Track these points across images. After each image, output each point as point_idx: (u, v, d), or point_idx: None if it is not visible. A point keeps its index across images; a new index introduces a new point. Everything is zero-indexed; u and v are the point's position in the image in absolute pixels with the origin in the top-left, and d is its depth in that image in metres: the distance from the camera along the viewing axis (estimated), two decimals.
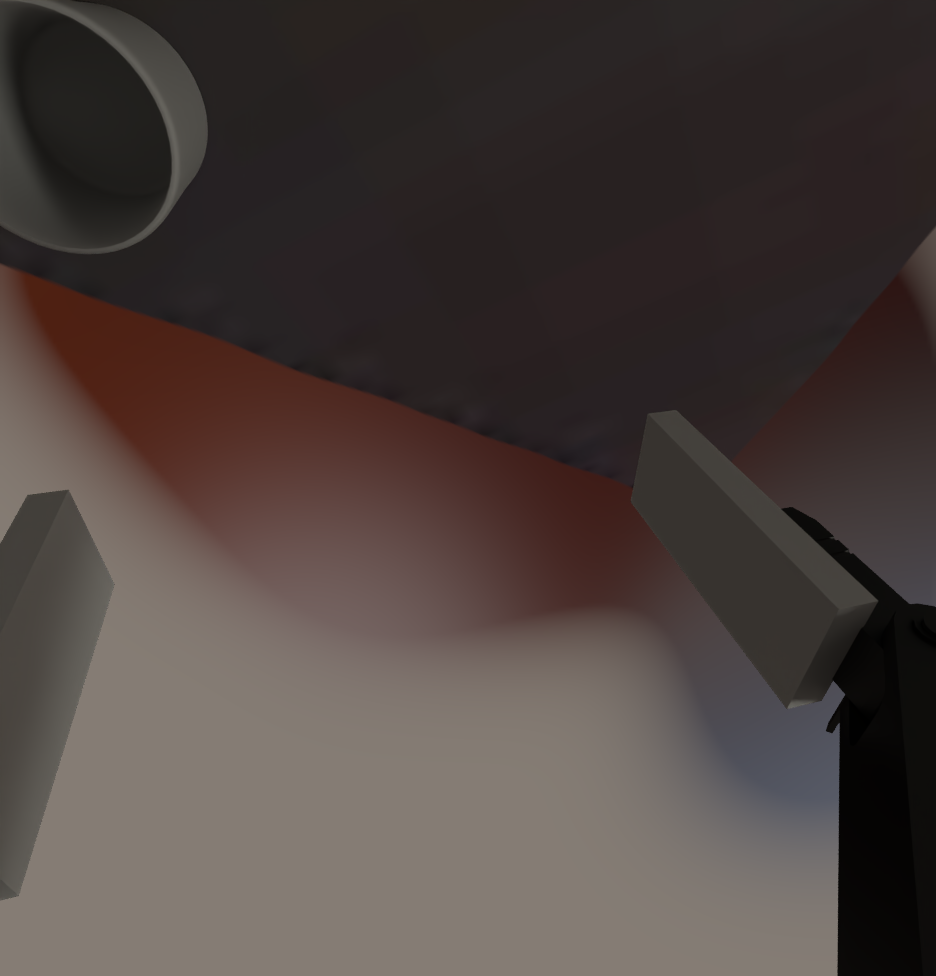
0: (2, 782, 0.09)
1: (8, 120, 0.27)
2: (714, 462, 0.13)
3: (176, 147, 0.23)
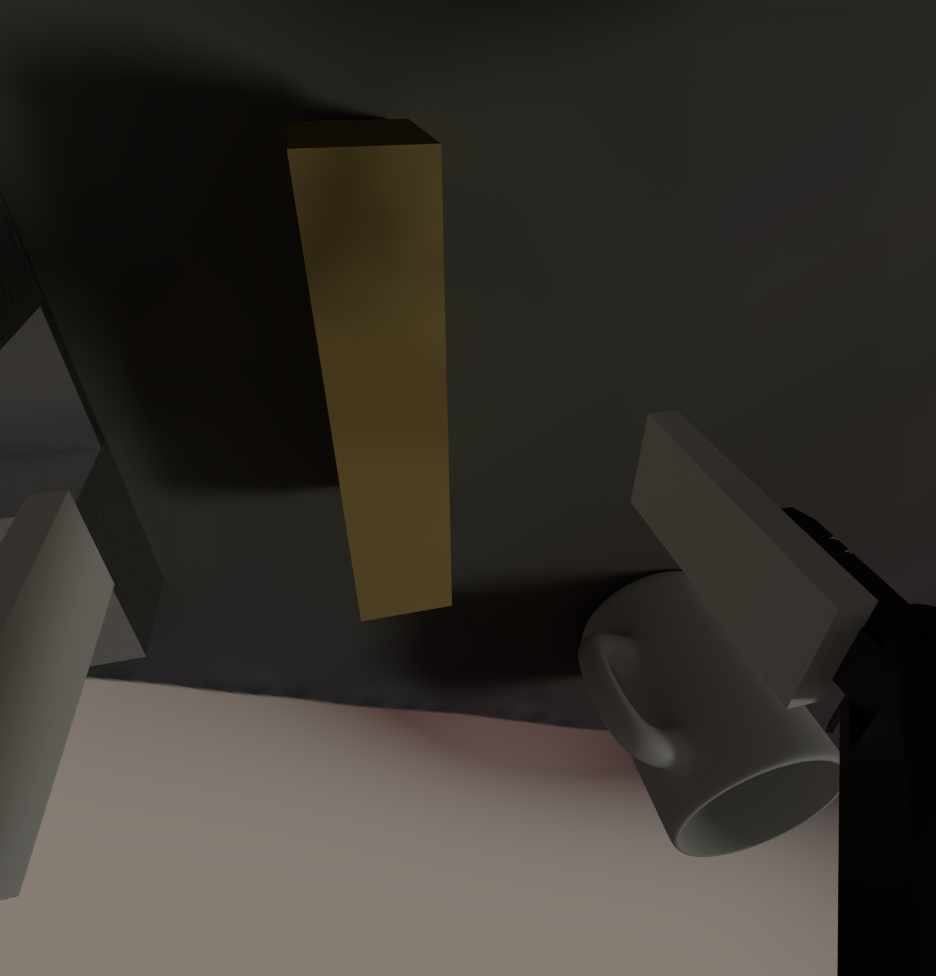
0: (2, 782, 0.09)
1: None
2: (714, 462, 0.13)
3: (837, 793, 0.28)
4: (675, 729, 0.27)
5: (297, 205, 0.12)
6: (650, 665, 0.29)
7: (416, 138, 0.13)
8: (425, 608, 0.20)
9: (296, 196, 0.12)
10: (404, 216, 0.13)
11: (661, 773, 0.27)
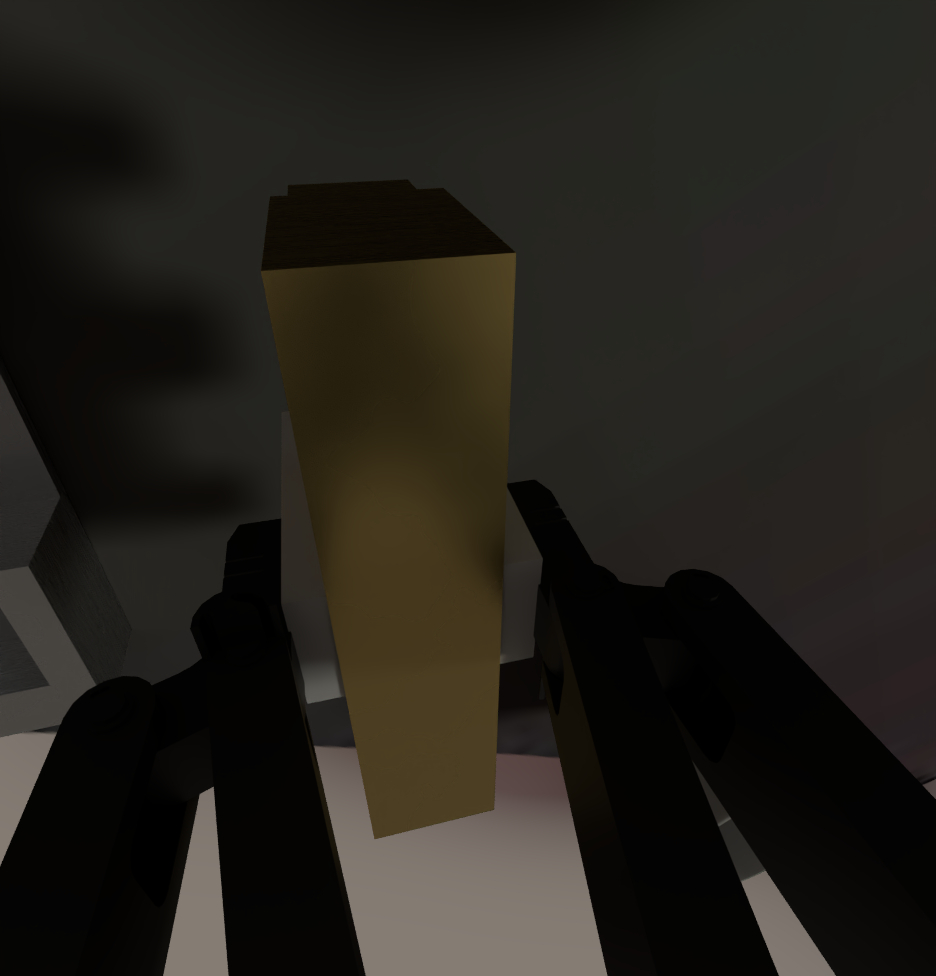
0: None
1: None
2: None
3: None
4: None
5: (280, 353, 0.07)
6: None
7: (470, 237, 0.08)
8: (459, 816, 0.15)
9: (278, 340, 0.07)
10: (452, 359, 0.08)
11: None
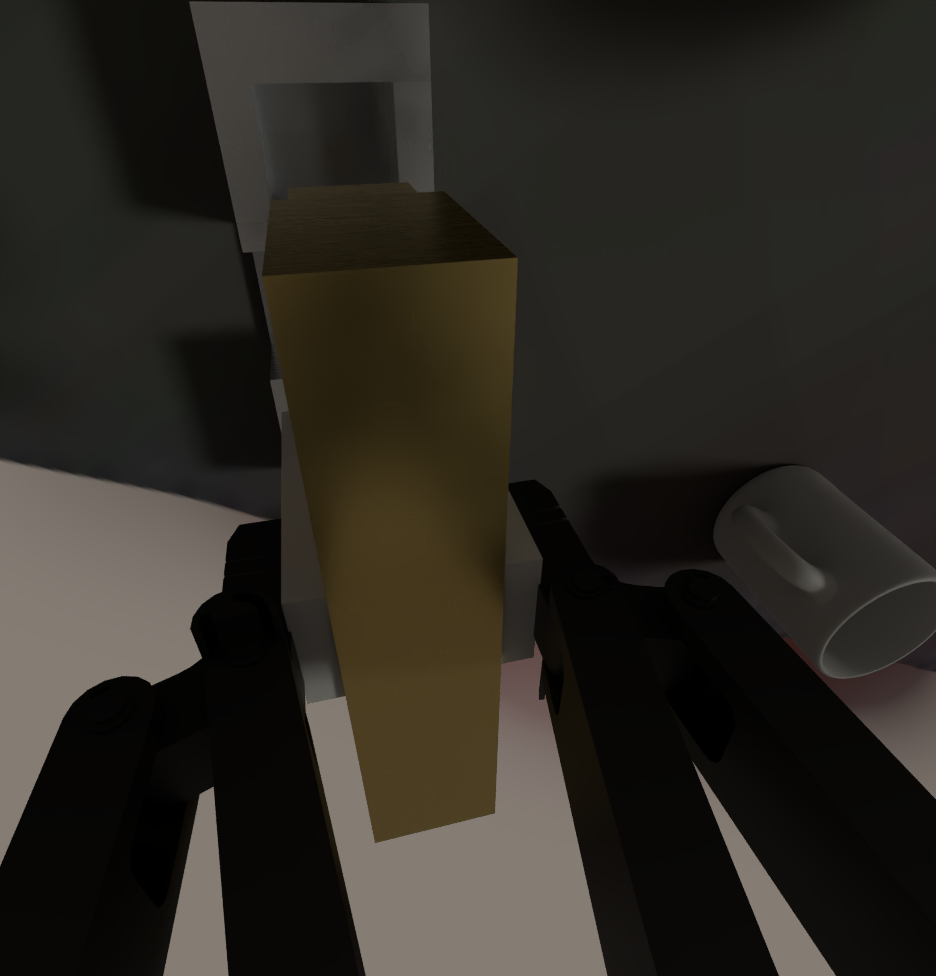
0: None
1: None
2: None
3: None
4: (819, 568, 0.34)
5: (281, 359, 0.07)
6: (788, 528, 0.37)
7: (472, 242, 0.08)
8: (459, 820, 0.15)
9: (279, 346, 0.07)
10: (455, 365, 0.08)
11: (808, 603, 0.35)
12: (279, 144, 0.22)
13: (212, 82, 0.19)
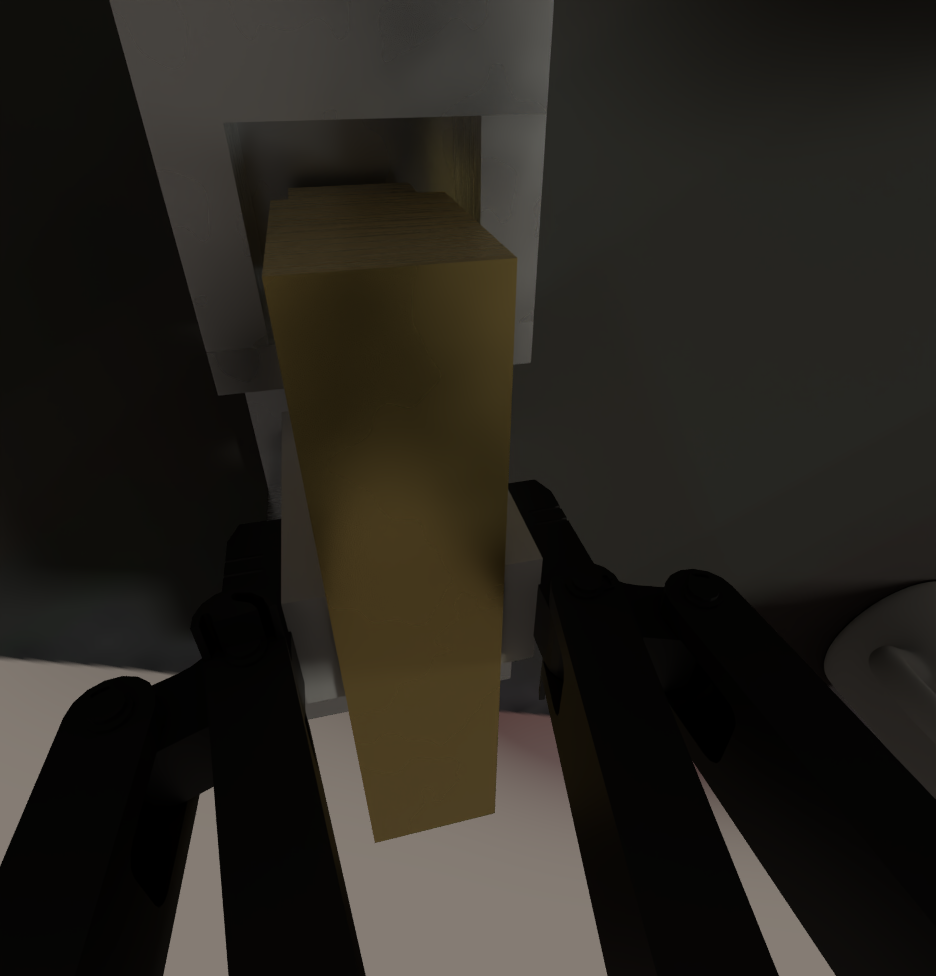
0: None
1: None
2: None
3: None
4: None
5: (281, 359, 0.07)
6: None
7: (472, 242, 0.08)
8: (459, 819, 0.15)
9: (279, 346, 0.07)
10: (455, 365, 0.08)
11: None
12: None
13: (154, 120, 0.10)
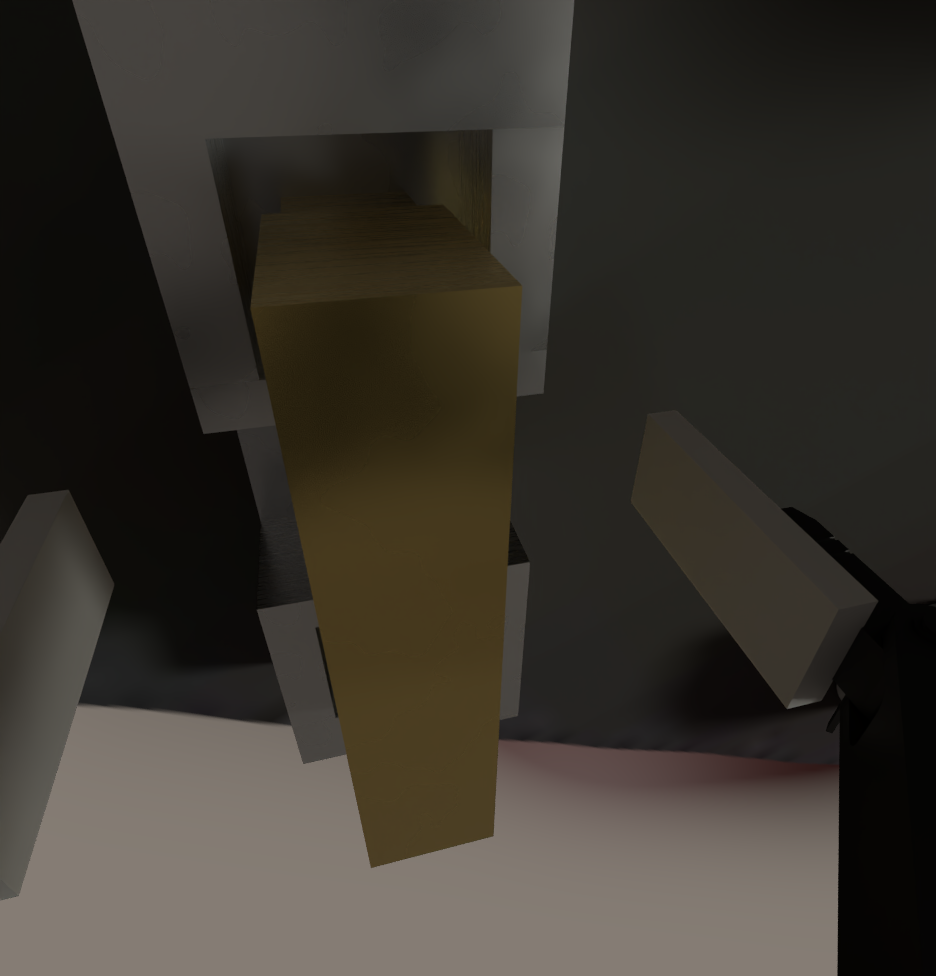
0: (2, 782, 0.09)
1: None
2: (714, 462, 0.13)
3: None
4: None
5: (272, 392, 0.07)
6: None
7: (473, 266, 0.08)
8: (457, 843, 0.15)
9: (270, 379, 0.07)
10: (455, 396, 0.08)
11: None
12: None
13: (126, 137, 0.09)
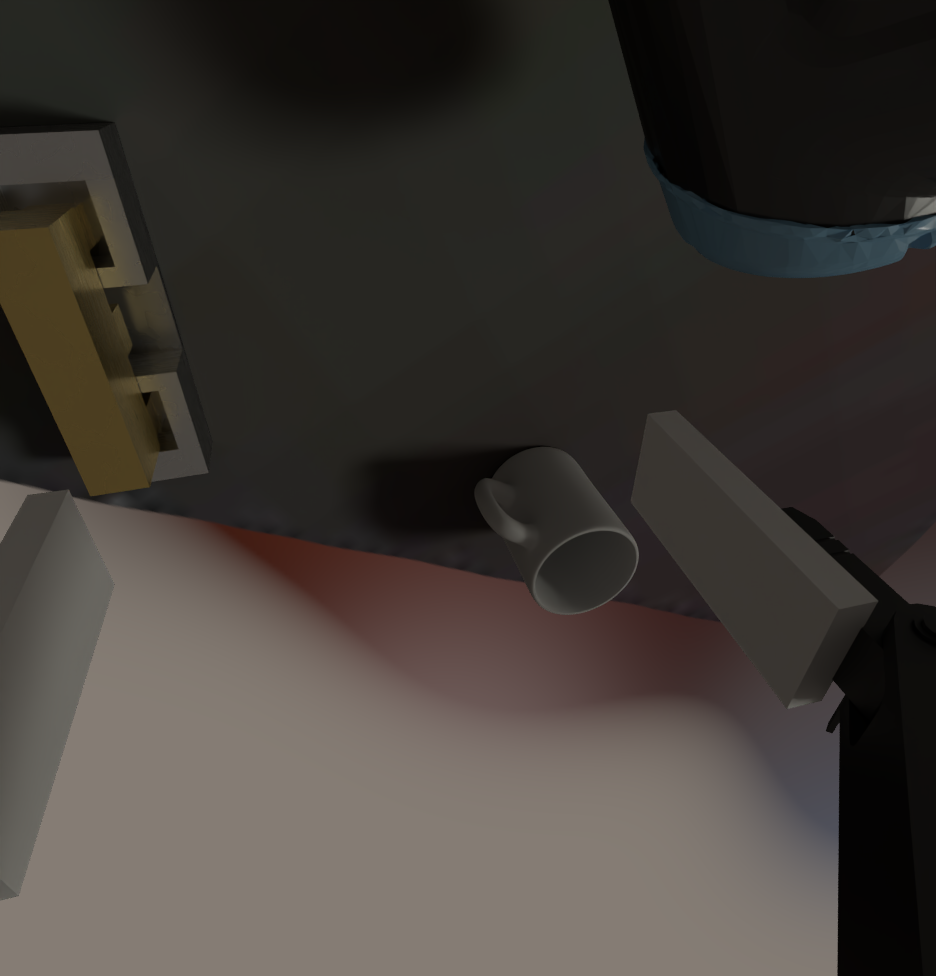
0: (2, 782, 0.09)
1: None
2: (714, 462, 0.13)
3: (636, 566, 0.45)
4: (530, 524, 0.44)
5: None
6: (521, 496, 0.46)
7: (44, 223, 0.26)
8: (131, 488, 0.33)
9: None
10: (39, 261, 0.26)
11: (523, 553, 0.44)
12: None
13: None
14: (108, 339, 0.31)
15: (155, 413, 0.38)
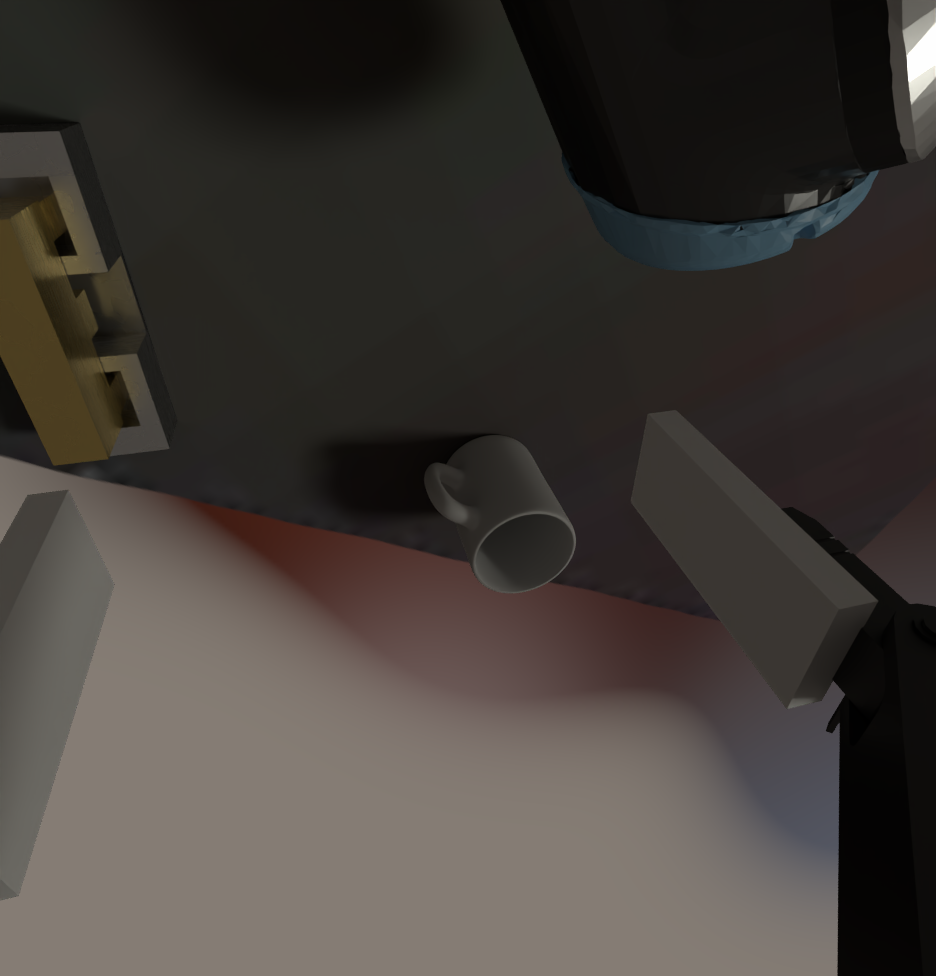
0: (2, 782, 0.09)
1: None
2: (714, 462, 0.13)
3: (574, 549, 0.48)
4: (473, 507, 0.46)
5: None
6: (468, 480, 0.49)
7: (6, 215, 0.29)
8: (91, 459, 0.36)
9: None
10: (1, 249, 0.29)
11: (466, 533, 0.46)
12: None
13: None
14: (69, 322, 0.34)
15: (120, 392, 0.41)
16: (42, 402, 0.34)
